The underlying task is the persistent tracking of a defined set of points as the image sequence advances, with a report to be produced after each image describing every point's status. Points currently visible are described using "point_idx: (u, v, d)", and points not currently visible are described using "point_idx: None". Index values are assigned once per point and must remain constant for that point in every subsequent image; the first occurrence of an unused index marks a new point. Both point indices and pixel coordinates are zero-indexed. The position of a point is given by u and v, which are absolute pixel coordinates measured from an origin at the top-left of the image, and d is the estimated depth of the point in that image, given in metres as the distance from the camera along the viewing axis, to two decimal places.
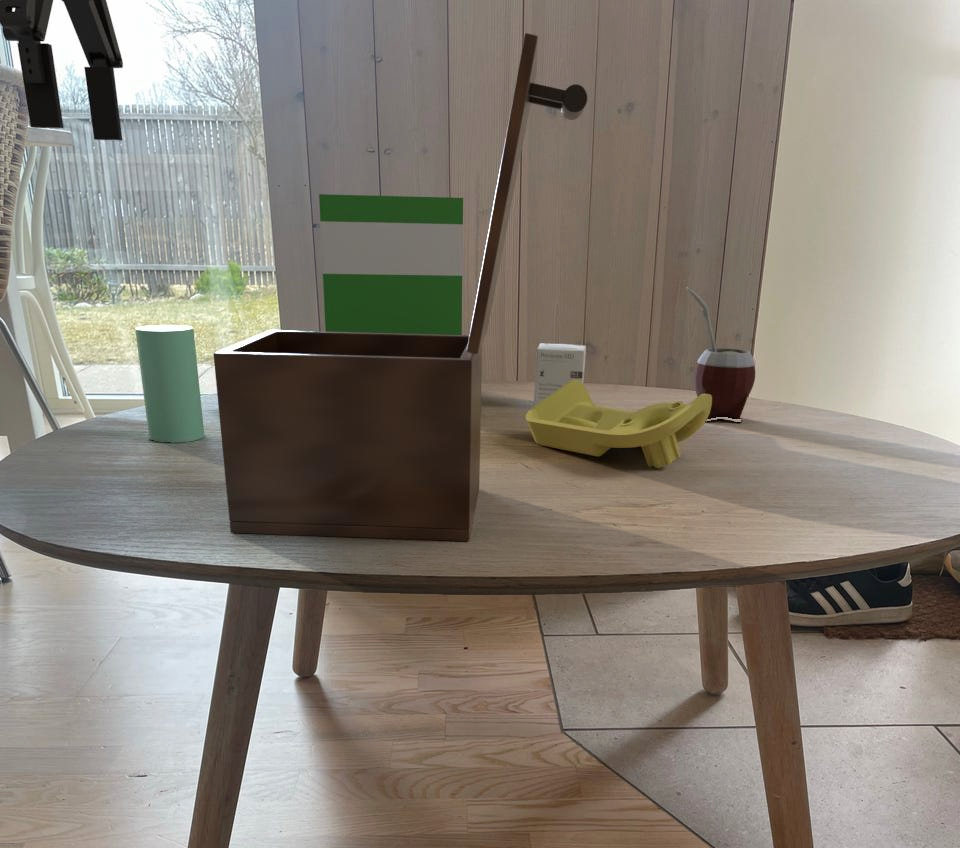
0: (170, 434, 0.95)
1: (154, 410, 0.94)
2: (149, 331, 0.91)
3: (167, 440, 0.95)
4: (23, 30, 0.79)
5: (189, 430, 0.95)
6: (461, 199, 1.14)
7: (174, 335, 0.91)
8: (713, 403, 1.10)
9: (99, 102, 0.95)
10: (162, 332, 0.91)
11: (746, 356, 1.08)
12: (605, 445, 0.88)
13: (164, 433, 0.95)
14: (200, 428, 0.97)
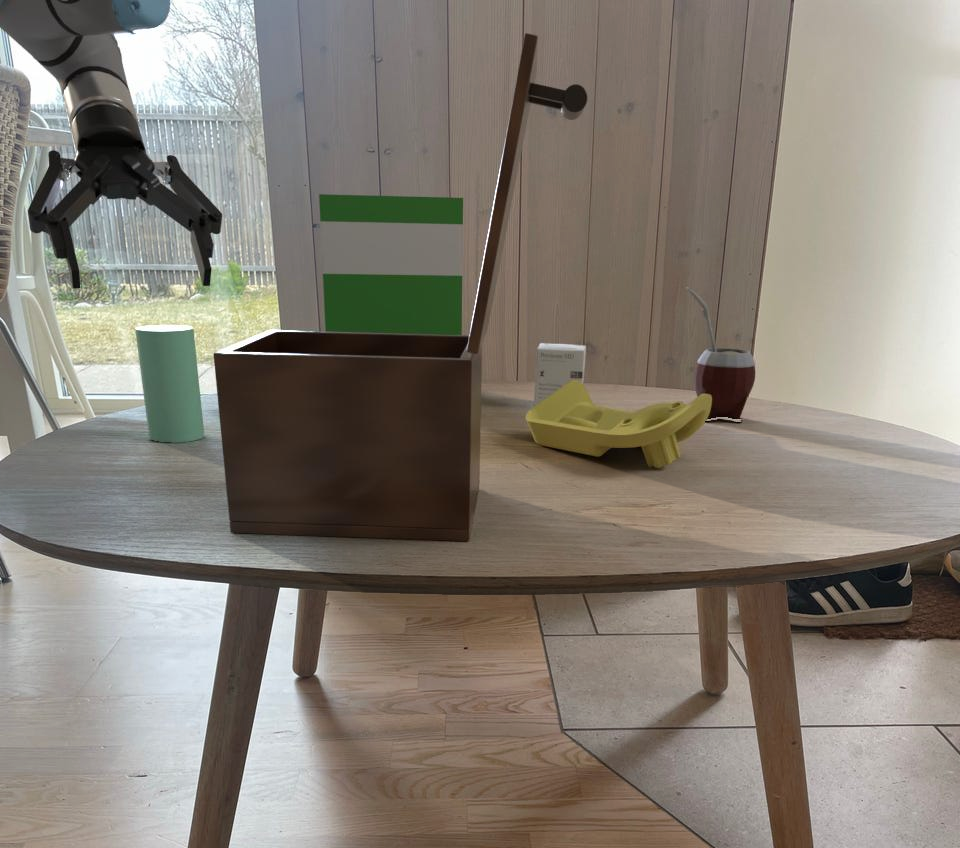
0: (170, 434, 0.95)
1: (154, 410, 0.94)
2: (149, 331, 0.91)
3: (167, 440, 0.95)
4: (215, 229, 1.06)
5: (189, 430, 0.95)
6: (461, 199, 1.14)
7: (174, 335, 0.91)
8: (713, 403, 1.10)
9: None
10: (162, 332, 0.91)
11: (746, 356, 1.08)
12: (605, 445, 0.88)
13: (164, 433, 0.95)
14: (200, 428, 0.97)
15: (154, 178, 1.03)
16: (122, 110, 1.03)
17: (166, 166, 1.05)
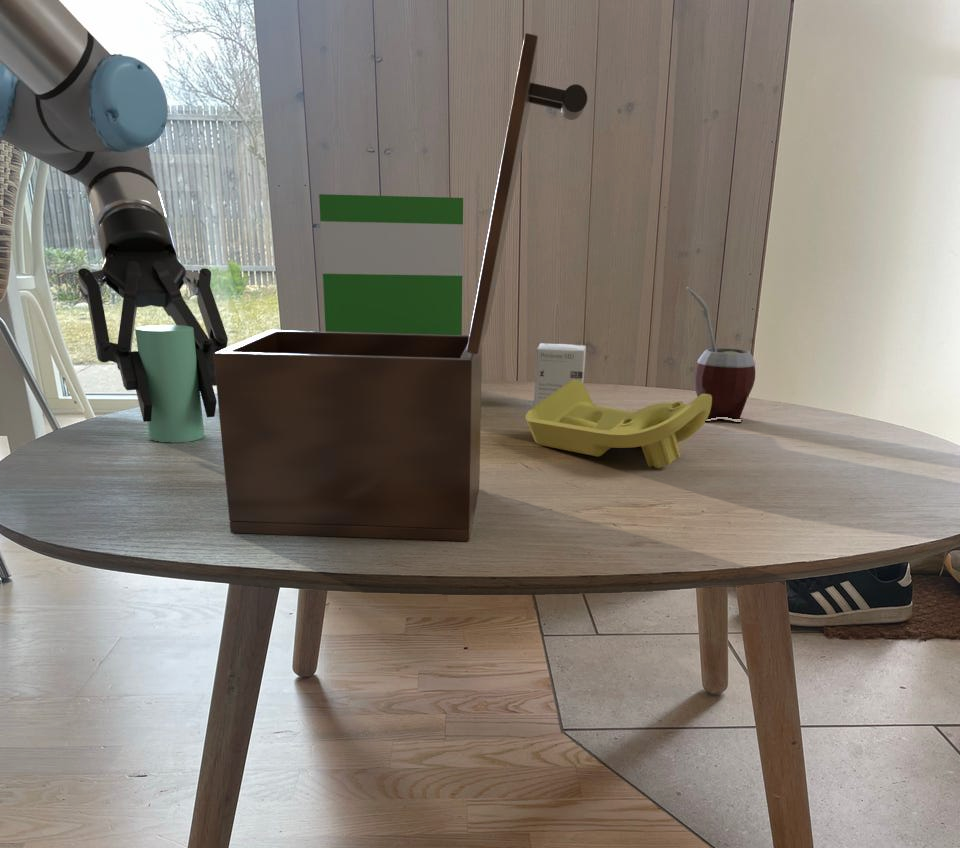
0: (170, 434, 0.95)
1: (154, 410, 0.94)
2: (149, 331, 0.91)
3: (167, 440, 0.95)
4: None
5: (189, 430, 0.95)
6: (461, 199, 1.14)
7: (174, 335, 0.91)
8: (713, 403, 1.10)
9: None
10: (162, 332, 0.91)
11: (746, 356, 1.08)
12: (605, 445, 0.88)
13: (164, 433, 0.95)
14: (200, 428, 0.97)
15: (176, 291, 0.97)
16: (152, 213, 0.97)
17: (195, 277, 0.99)
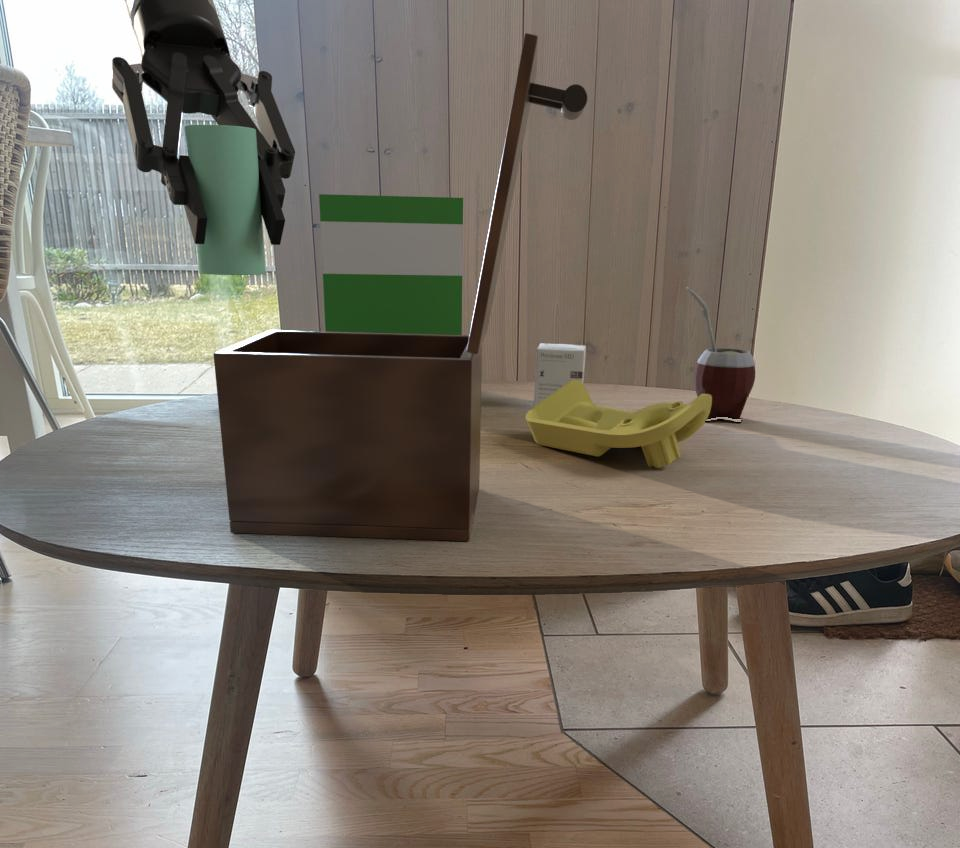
0: (227, 263, 0.77)
1: (207, 232, 0.76)
2: (203, 125, 0.73)
3: (222, 271, 0.77)
4: (284, 171, 0.80)
5: (249, 260, 0.77)
6: (461, 199, 1.14)
7: (235, 131, 0.73)
8: (713, 403, 1.10)
9: None
10: (220, 126, 0.73)
11: (746, 356, 1.08)
12: (605, 445, 0.88)
13: (219, 263, 0.77)
14: (262, 261, 0.79)
15: (232, 92, 0.79)
16: None
17: (253, 80, 0.81)
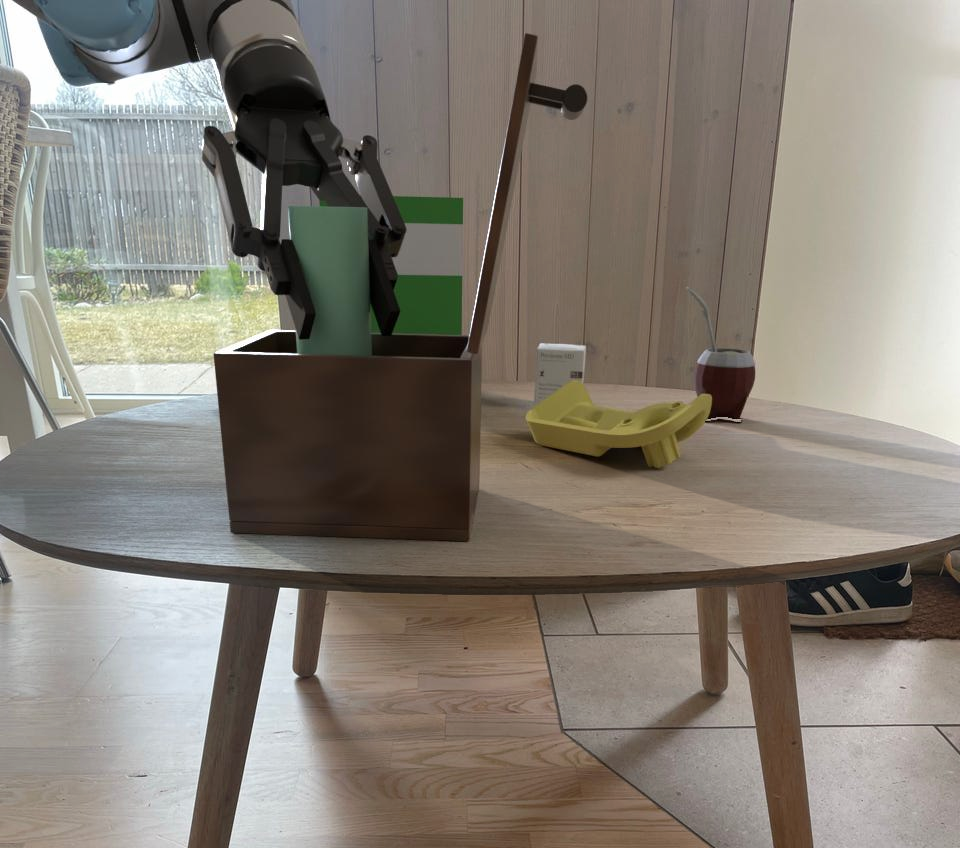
0: None
1: None
2: (312, 207, 0.64)
3: None
4: (393, 250, 0.71)
5: (357, 354, 0.68)
6: (461, 199, 1.14)
7: (347, 213, 0.64)
8: (713, 403, 1.10)
9: None
10: (331, 208, 0.63)
11: (746, 356, 1.08)
12: (605, 445, 0.88)
13: None
14: (369, 353, 0.70)
15: (335, 162, 0.69)
16: (301, 55, 0.70)
17: (357, 147, 0.71)
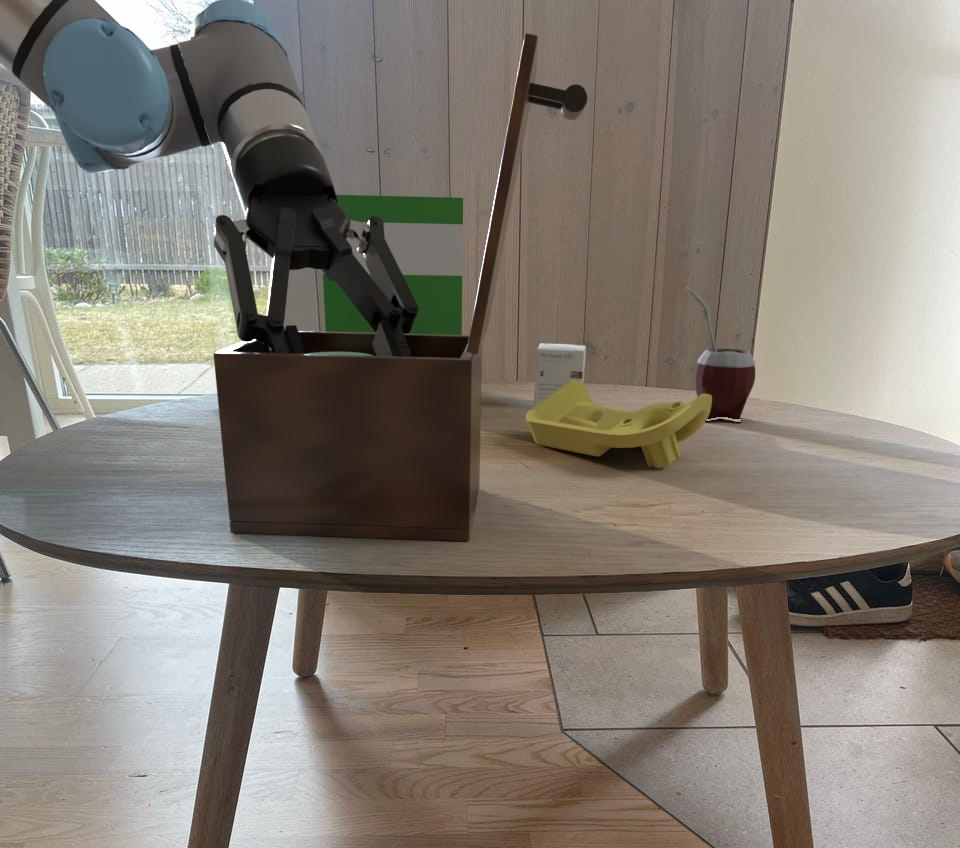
0: None
1: None
2: None
3: None
4: (406, 327, 0.73)
5: None
6: (461, 199, 1.14)
7: None
8: (713, 403, 1.10)
9: None
10: None
11: (746, 356, 1.08)
12: (605, 445, 0.88)
13: None
14: None
15: (346, 246, 0.72)
16: (309, 143, 0.73)
17: (365, 229, 0.74)
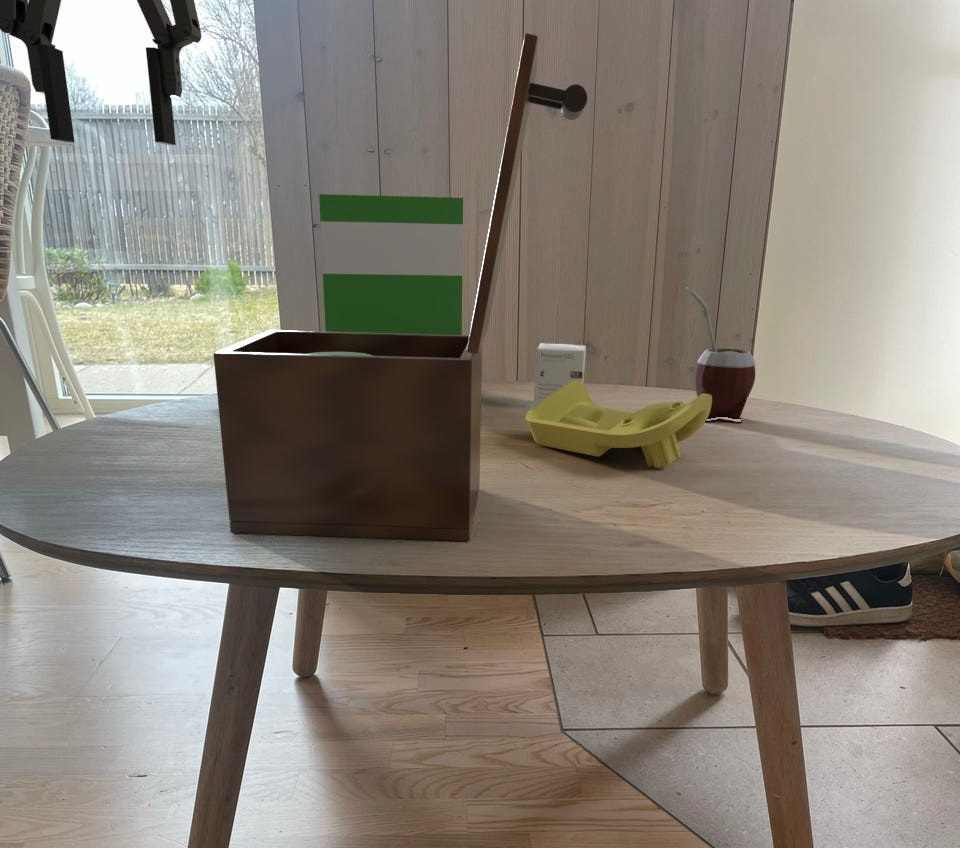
0: None
1: None
2: None
3: None
4: (188, 43, 0.73)
5: None
6: (461, 199, 1.14)
7: None
8: (713, 403, 1.10)
9: (59, 93, 0.74)
10: None
11: (746, 356, 1.08)
12: (605, 445, 0.88)
13: None
14: None
15: None
16: None
17: None
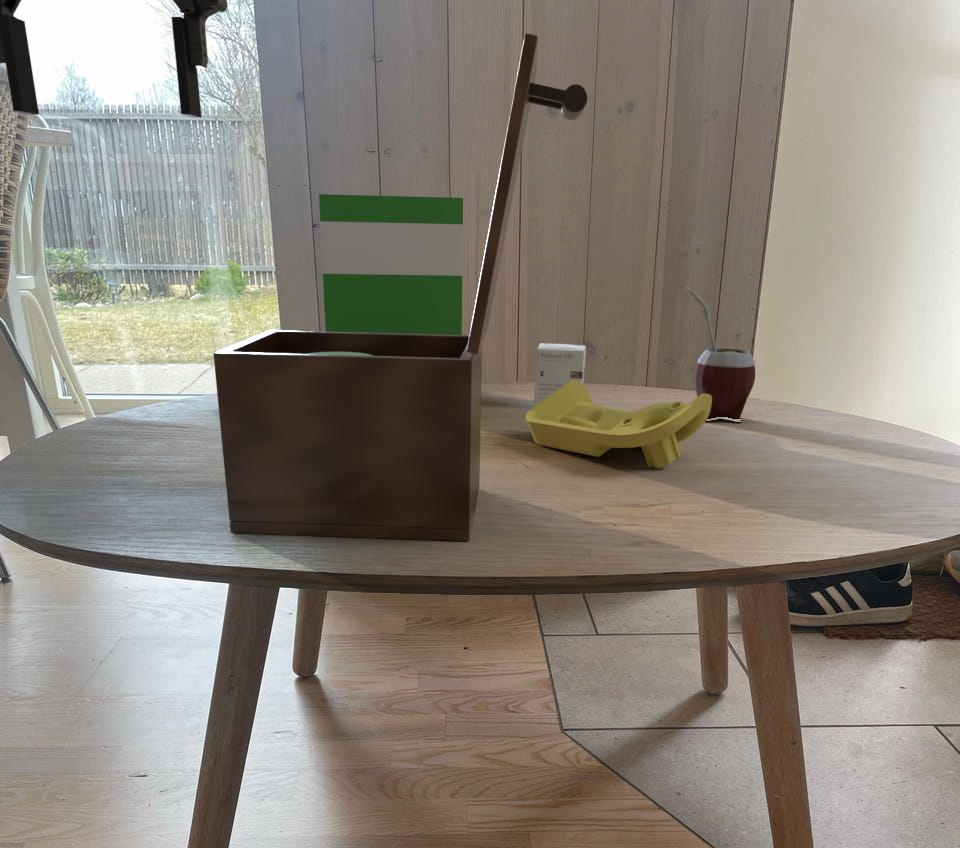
0: None
1: None
2: None
3: None
4: (214, 12, 0.72)
5: None
6: (461, 199, 1.14)
7: None
8: (713, 403, 1.10)
9: (21, 64, 0.73)
10: None
11: (746, 356, 1.08)
12: (605, 445, 0.88)
13: None
14: None
15: None
16: None
17: None
